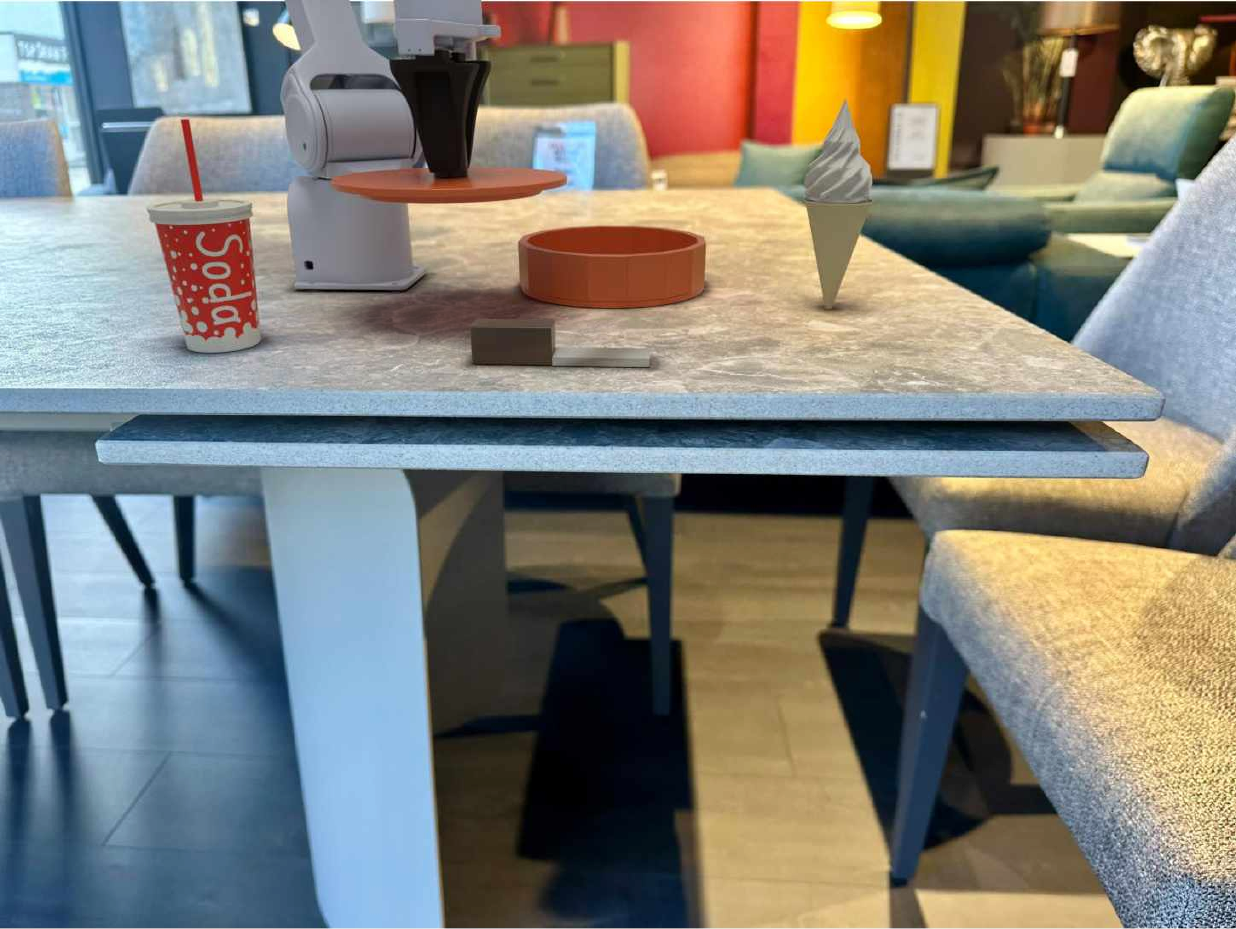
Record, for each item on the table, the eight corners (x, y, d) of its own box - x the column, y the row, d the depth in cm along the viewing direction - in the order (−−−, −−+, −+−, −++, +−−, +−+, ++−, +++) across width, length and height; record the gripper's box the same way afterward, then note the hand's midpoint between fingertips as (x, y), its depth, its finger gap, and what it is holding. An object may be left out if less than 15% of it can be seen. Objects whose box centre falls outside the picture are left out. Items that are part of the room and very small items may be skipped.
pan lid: (296, 207, 57) (284, 121, 55) (372, 181, 72) (365, 112, 70) (554, 207, 57) (551, 120, 55) (576, 181, 72) (575, 112, 70)
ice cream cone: (782, 304, 71) (797, 98, 65) (837, 299, 73) (856, 97, 67) (817, 318, 67) (836, 99, 61) (875, 313, 68) (899, 99, 62)
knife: (471, 364, 56) (469, 326, 55) (478, 355, 58) (476, 318, 57) (649, 367, 55) (650, 329, 55) (650, 357, 58) (650, 320, 57)
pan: (508, 307, 70) (505, 255, 69) (534, 268, 84) (533, 224, 83) (707, 309, 69) (709, 256, 68) (700, 270, 84) (701, 226, 82)
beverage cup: (169, 359, 57) (121, 122, 51) (178, 336, 62) (135, 118, 57) (273, 350, 59) (237, 120, 53) (272, 328, 64) (240, 116, 59)
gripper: (474, -67, 52) (488, 180, 57) (512, -37, 65) (520, 162, 70) (352, -66, 52) (377, 180, 57) (415, -36, 65) (431, 162, 71)
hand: (449, 170), depth 64 cm, fingers closed on pan lid, 2 cm apart
